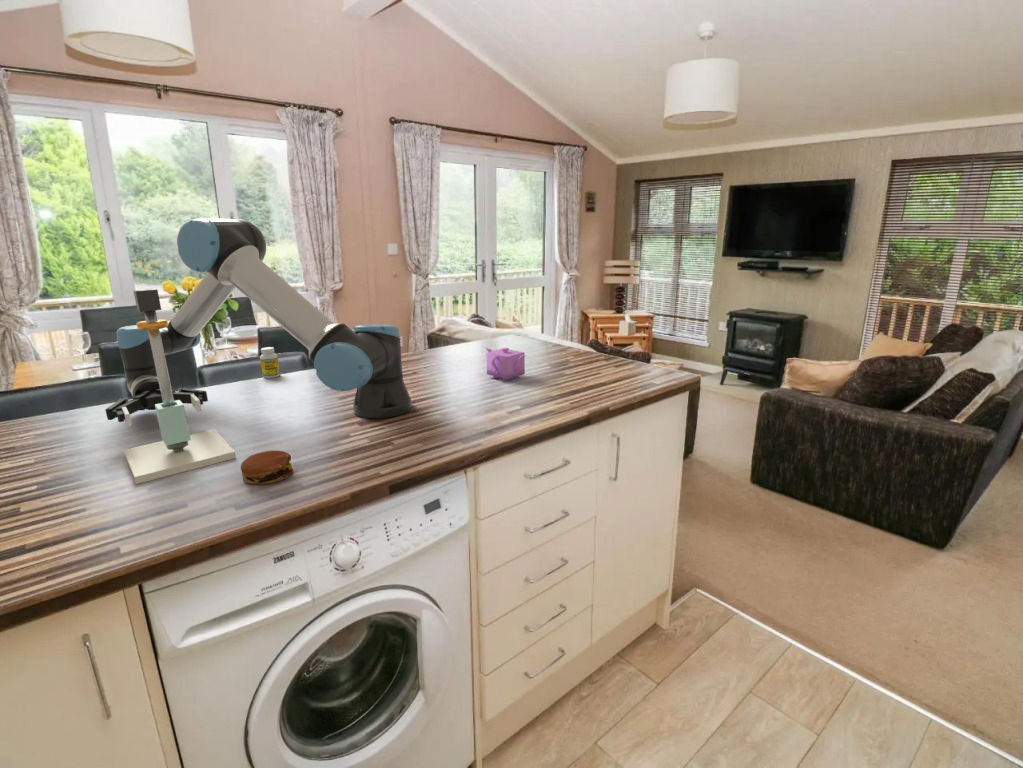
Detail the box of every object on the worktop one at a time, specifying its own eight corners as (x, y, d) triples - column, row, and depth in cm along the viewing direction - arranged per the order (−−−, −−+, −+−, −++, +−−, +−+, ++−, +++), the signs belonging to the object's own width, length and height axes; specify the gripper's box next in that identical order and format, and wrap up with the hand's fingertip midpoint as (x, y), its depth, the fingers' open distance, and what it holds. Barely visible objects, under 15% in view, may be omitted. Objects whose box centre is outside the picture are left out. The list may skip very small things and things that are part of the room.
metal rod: (189, 444, 120) (158, 287, 110) (194, 450, 116) (162, 289, 106) (162, 450, 116) (127, 289, 107) (166, 457, 113) (131, 291, 103)
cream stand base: (215, 435, 129) (214, 429, 128) (236, 458, 116) (235, 451, 115) (125, 456, 118) (123, 449, 117) (136, 484, 104) (134, 477, 104)
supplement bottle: (278, 373, 184) (274, 345, 181) (281, 376, 179) (277, 348, 177) (261, 375, 181) (257, 347, 178) (264, 379, 176) (260, 350, 174)
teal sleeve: (186, 434, 119) (179, 399, 116) (190, 440, 115) (183, 404, 113) (162, 439, 116) (154, 404, 113) (166, 445, 112) (158, 409, 110)
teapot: (541, 378, 172) (541, 348, 169) (513, 387, 163) (513, 355, 160) (501, 368, 184) (501, 340, 181) (473, 376, 175) (472, 347, 172)
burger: (238, 474, 108) (235, 453, 107) (287, 462, 113) (284, 442, 112) (247, 493, 100) (244, 470, 99) (299, 480, 105) (296, 458, 104)
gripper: (207, 396, 145) (228, 415, 129) (92, 417, 130) (100, 442, 114) (202, 369, 143) (222, 385, 127) (85, 388, 128) (92, 409, 112)
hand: (165, 412), depth 121 cm, fingers open, 13 cm apart
